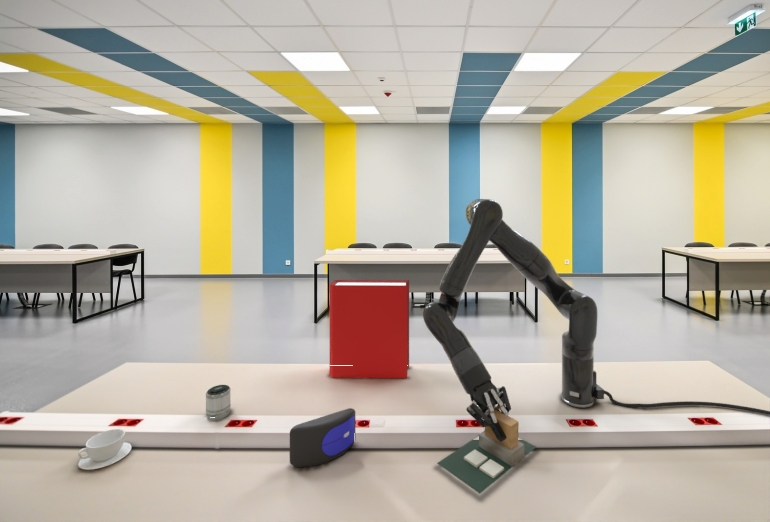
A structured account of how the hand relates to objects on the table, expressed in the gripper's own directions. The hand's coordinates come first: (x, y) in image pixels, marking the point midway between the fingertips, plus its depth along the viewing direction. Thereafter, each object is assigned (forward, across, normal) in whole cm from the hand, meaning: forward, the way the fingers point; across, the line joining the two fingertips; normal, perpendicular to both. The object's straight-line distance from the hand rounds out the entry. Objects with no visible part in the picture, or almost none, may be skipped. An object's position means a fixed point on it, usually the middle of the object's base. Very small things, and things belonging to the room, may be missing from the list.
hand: (508, 436), depth 96 cm
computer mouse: (-19, -31, +27) cm, 45 cm away
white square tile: (0, -7, +6) cm, 9 cm away
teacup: (-44, -70, +53) cm, 98 cm away
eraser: (+2, 0, +5) cm, 5 cm away
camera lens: (-45, -45, +53) cm, 83 cm away
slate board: (+2, -3, +6) cm, 7 cm away
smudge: (+3, -7, +3) cm, 8 cm away
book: (-39, +2, +48) cm, 62 cm away
